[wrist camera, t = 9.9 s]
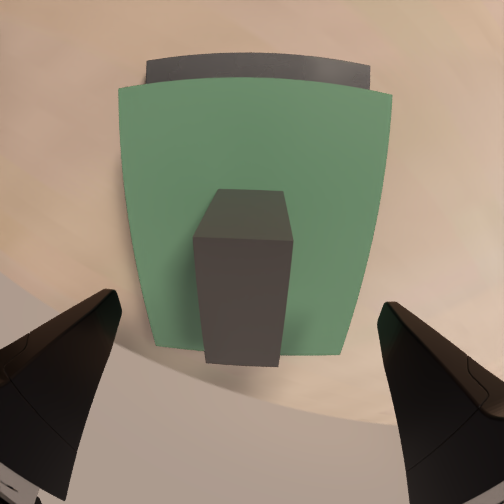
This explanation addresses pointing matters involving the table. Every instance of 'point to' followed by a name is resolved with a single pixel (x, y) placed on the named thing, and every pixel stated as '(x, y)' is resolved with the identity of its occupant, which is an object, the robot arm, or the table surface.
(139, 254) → the board
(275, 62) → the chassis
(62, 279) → the table surface
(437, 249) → the table surface
